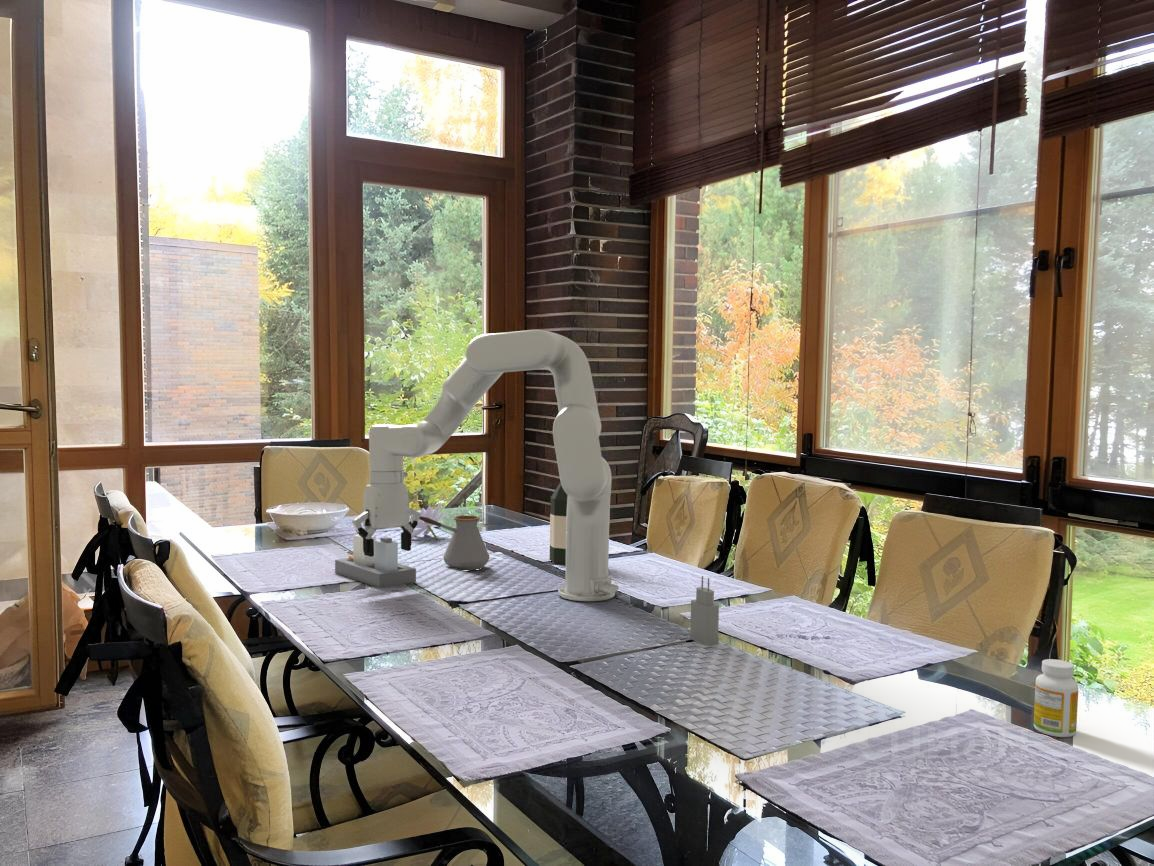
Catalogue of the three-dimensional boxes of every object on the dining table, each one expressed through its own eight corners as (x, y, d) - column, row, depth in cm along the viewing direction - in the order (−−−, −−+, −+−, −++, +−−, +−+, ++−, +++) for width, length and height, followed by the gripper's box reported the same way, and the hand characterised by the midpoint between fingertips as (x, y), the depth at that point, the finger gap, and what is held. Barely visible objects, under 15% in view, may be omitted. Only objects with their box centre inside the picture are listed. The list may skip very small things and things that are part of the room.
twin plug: (375, 574, 217) (375, 533, 216) (364, 576, 215) (364, 534, 214) (364, 570, 221) (364, 530, 220) (353, 572, 219) (353, 531, 218)
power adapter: (706, 645, 168) (708, 580, 167) (688, 638, 173) (689, 574, 172) (719, 643, 169) (721, 579, 169) (701, 635, 174) (703, 573, 173)
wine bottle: (581, 565, 236) (583, 448, 234) (548, 564, 236) (550, 448, 234) (581, 558, 244) (583, 446, 243) (550, 558, 245) (552, 445, 243)
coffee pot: (476, 562, 238) (477, 504, 237) (497, 570, 228) (498, 510, 227) (398, 570, 226) (398, 509, 225) (416, 579, 217) (417, 516, 216)
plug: (397, 581, 210) (397, 539, 209) (386, 583, 208) (386, 540, 207) (386, 577, 214) (386, 535, 213) (374, 579, 212) (374, 537, 211)
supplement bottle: (1062, 723, 133) (1066, 657, 132) (1084, 738, 127) (1088, 669, 127) (1025, 723, 133) (1029, 657, 132) (1046, 738, 127) (1049, 669, 127)
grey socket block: (415, 585, 210) (416, 566, 210) (379, 592, 204) (379, 571, 204) (370, 571, 225) (370, 552, 225) (335, 576, 218) (335, 557, 218)
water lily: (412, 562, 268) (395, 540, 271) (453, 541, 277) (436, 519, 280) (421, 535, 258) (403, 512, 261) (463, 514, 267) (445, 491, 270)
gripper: (410, 474, 218) (411, 545, 219) (344, 480, 206) (345, 555, 207) (427, 476, 212) (428, 550, 213) (361, 482, 201) (362, 560, 202)
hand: (387, 552), depth 210 cm, fingers open, 9 cm apart
